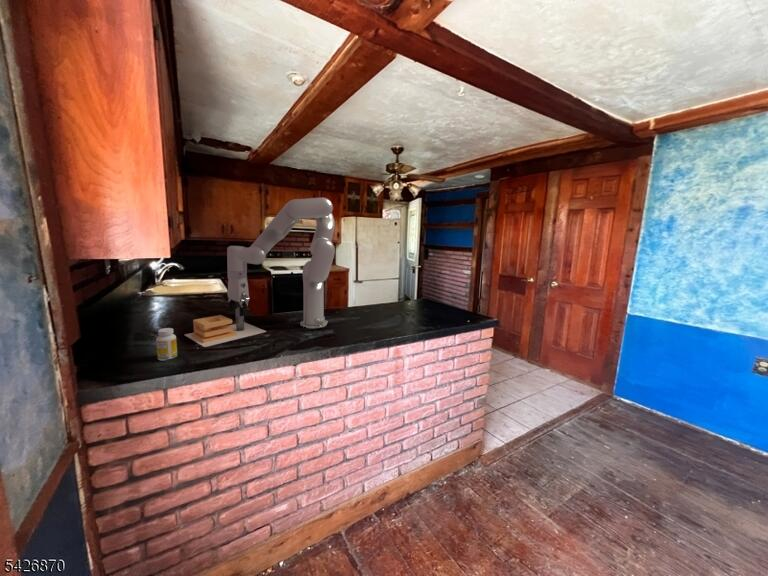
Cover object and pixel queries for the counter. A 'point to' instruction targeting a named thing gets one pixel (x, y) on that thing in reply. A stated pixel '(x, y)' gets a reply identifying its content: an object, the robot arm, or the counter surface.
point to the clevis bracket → (212, 328)
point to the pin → (239, 320)
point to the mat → (247, 331)
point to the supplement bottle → (166, 344)
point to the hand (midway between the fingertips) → (237, 313)
